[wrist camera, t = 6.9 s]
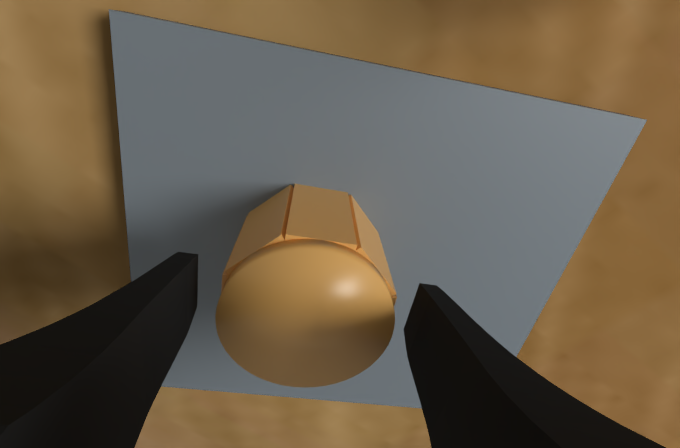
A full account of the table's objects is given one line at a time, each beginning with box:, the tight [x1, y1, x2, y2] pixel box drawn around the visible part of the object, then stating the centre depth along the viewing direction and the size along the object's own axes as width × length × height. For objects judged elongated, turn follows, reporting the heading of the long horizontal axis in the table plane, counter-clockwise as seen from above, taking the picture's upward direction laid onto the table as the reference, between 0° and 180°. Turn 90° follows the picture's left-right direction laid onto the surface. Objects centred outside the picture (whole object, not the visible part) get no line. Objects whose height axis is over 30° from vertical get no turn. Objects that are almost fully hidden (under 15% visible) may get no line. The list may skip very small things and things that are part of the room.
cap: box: [215, 184, 397, 388], centre depth 13 cm, size 5×5×4 cm
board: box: [109, 9, 647, 408], centre depth 16 cm, size 18×16×1 cm
